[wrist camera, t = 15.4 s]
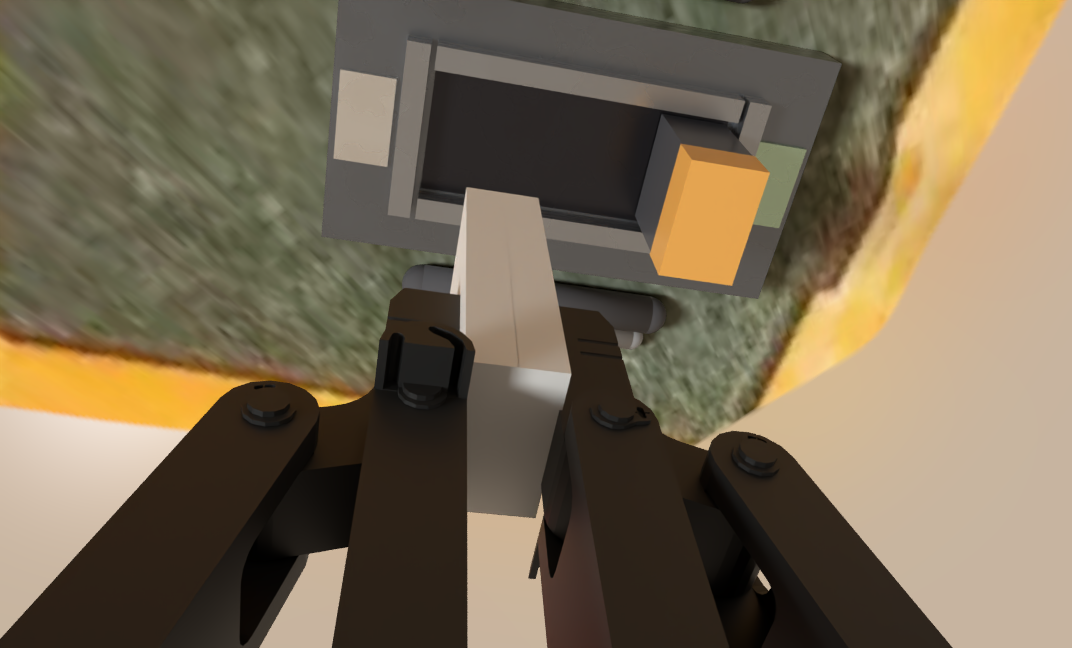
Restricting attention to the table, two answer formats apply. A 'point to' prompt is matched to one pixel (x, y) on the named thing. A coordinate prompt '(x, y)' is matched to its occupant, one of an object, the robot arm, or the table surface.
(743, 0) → the block
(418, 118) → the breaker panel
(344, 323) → the table surface
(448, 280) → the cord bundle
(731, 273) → the breaker lever
